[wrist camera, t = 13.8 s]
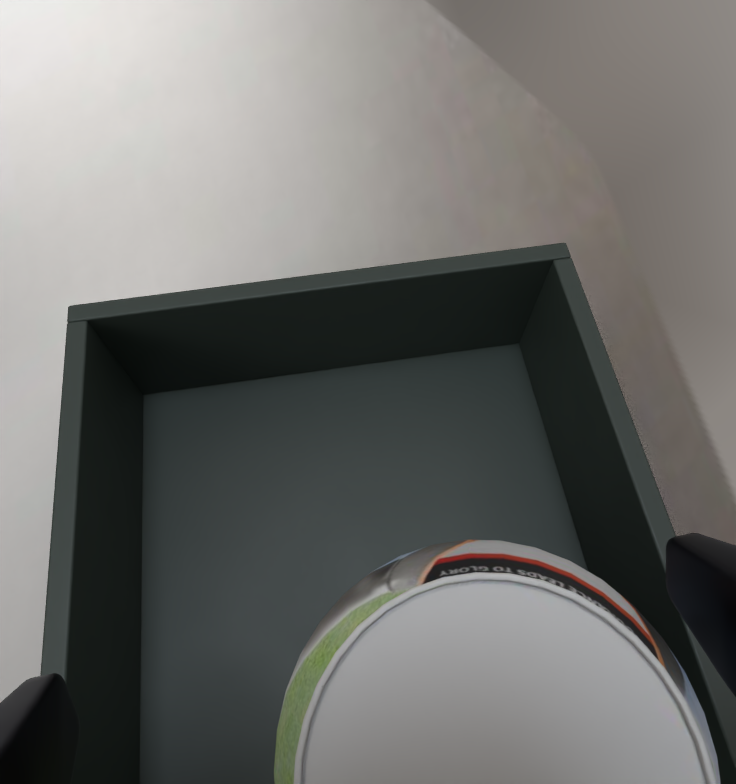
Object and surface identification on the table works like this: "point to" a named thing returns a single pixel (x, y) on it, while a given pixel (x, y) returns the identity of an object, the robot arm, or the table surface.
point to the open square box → (322, 487)
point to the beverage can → (489, 680)
